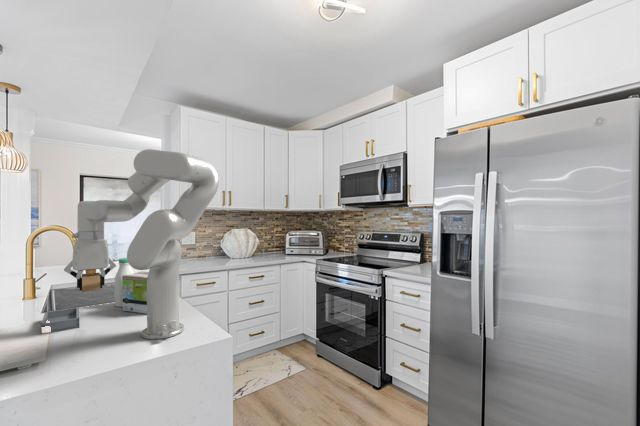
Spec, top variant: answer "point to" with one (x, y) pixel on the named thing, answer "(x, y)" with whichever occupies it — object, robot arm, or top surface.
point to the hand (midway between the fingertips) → (90, 288)
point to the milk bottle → (122, 271)
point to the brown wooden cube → (90, 282)
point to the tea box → (135, 292)
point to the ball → (90, 272)
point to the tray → (61, 319)
